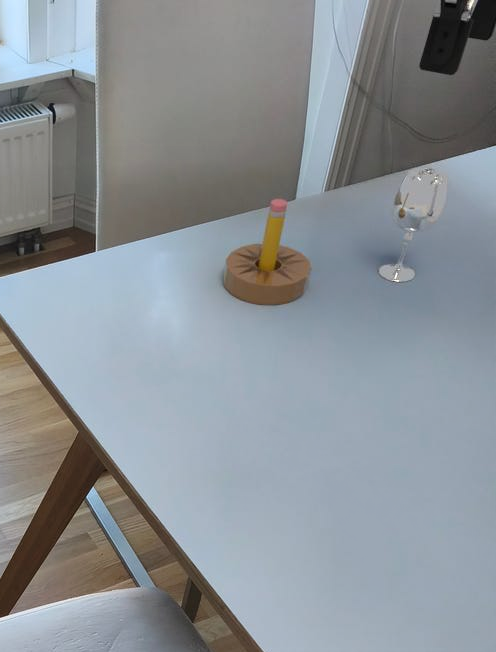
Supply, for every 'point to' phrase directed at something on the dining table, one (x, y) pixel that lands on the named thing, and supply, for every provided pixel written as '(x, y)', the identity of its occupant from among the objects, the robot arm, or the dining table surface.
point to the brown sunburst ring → (266, 276)
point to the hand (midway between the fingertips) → (455, 53)
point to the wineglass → (416, 212)
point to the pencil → (272, 234)
